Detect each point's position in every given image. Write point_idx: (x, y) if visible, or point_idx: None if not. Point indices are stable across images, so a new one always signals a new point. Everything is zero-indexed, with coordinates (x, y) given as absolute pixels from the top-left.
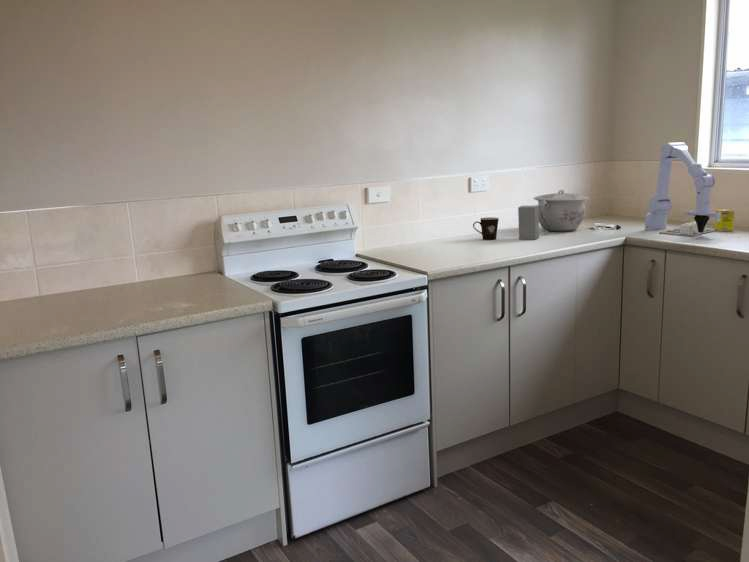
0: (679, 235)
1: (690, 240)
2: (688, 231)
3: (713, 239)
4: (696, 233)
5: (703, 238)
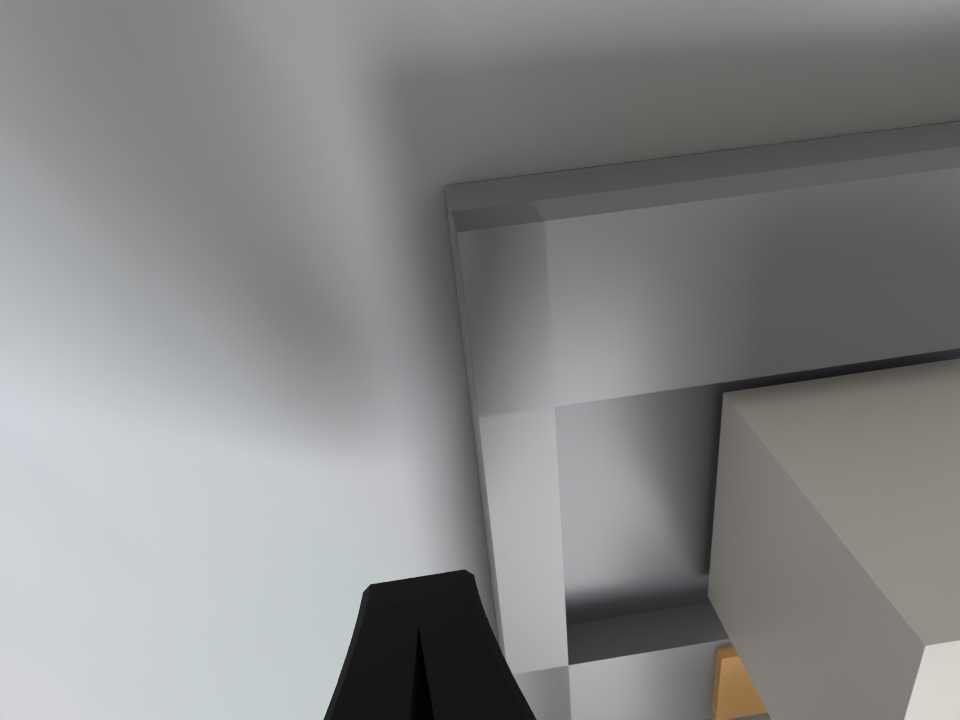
0: (956, 156)
1: (460, 59)
2: (794, 462)
3: (167, 621)
4: (628, 653)
5: None
